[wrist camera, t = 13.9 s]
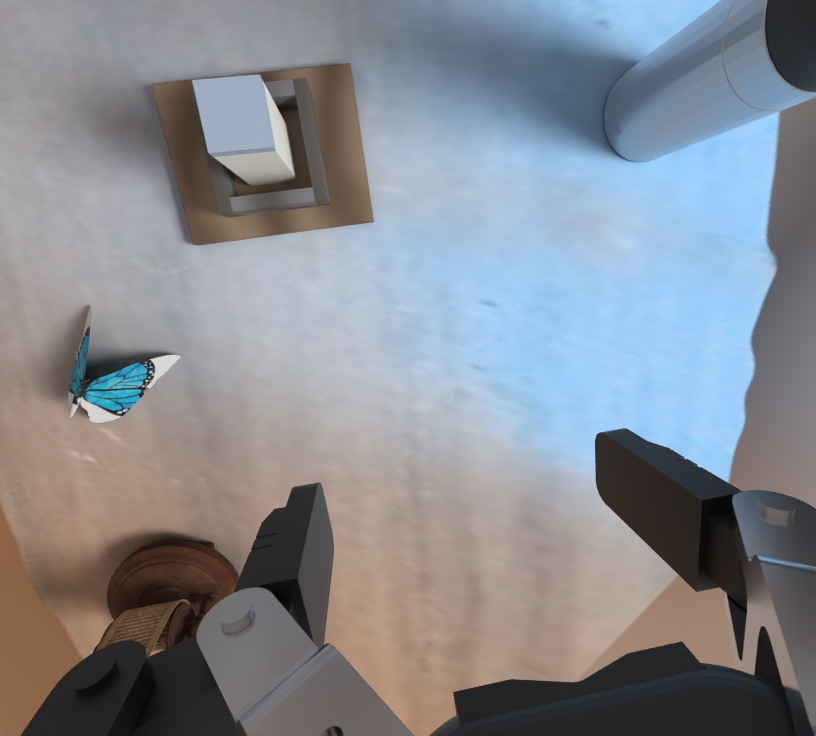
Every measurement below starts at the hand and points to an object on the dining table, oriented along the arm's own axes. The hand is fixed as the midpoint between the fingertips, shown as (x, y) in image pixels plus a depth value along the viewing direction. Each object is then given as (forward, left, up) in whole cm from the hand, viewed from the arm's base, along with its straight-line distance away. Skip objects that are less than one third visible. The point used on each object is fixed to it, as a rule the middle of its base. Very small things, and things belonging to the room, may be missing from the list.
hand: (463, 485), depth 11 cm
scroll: (+30, +28, -34) cm, 53 cm away
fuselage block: (+9, -18, -33) cm, 39 cm away
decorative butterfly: (+30, 0, -35) cm, 46 cm away
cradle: (+9, -18, -34) cm, 40 cm away
